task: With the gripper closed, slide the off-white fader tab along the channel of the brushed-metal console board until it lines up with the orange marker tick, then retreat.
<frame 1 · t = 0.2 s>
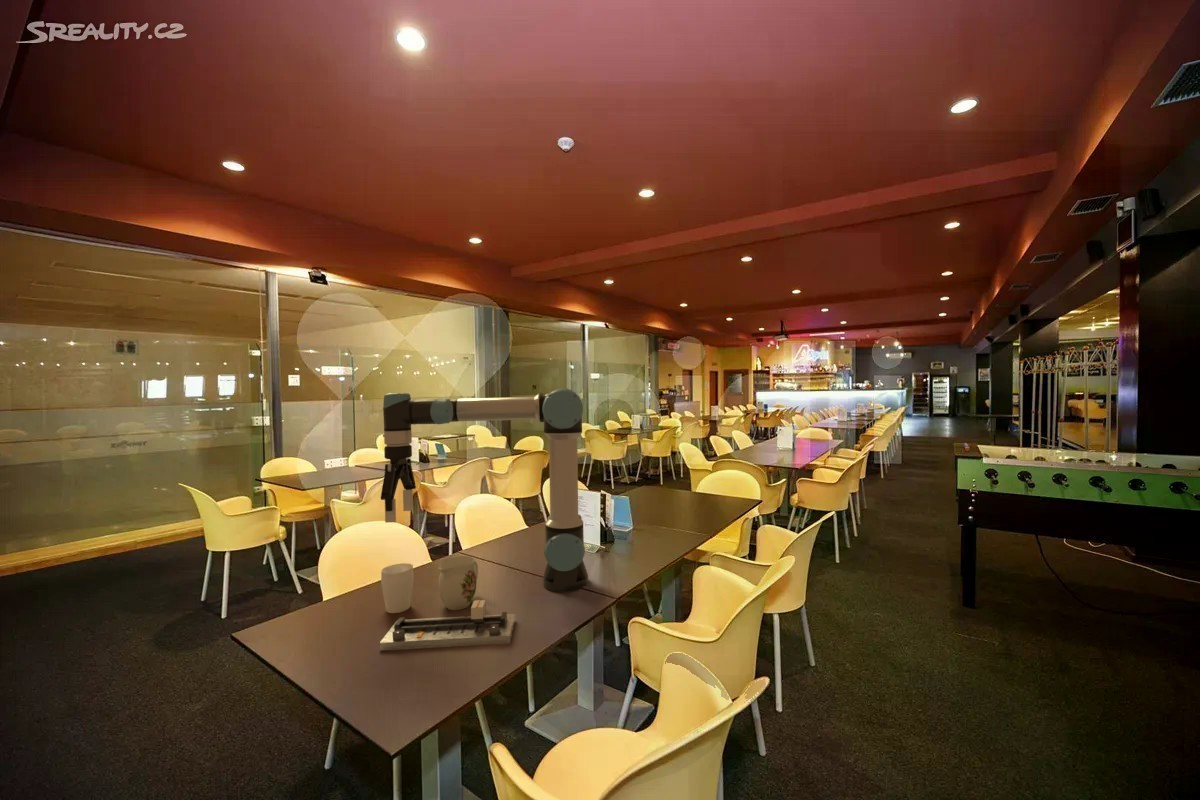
hand: (399, 516, 139), 28 cm above the table, fingers open, 13 cm apart
cup: (398, 609, 140), on the table
console: (451, 635, 123), on the table
pitcher: (460, 604, 142), on the table
fader: (478, 613, 125), point 5 cm above the table, slide at -7.0 cm
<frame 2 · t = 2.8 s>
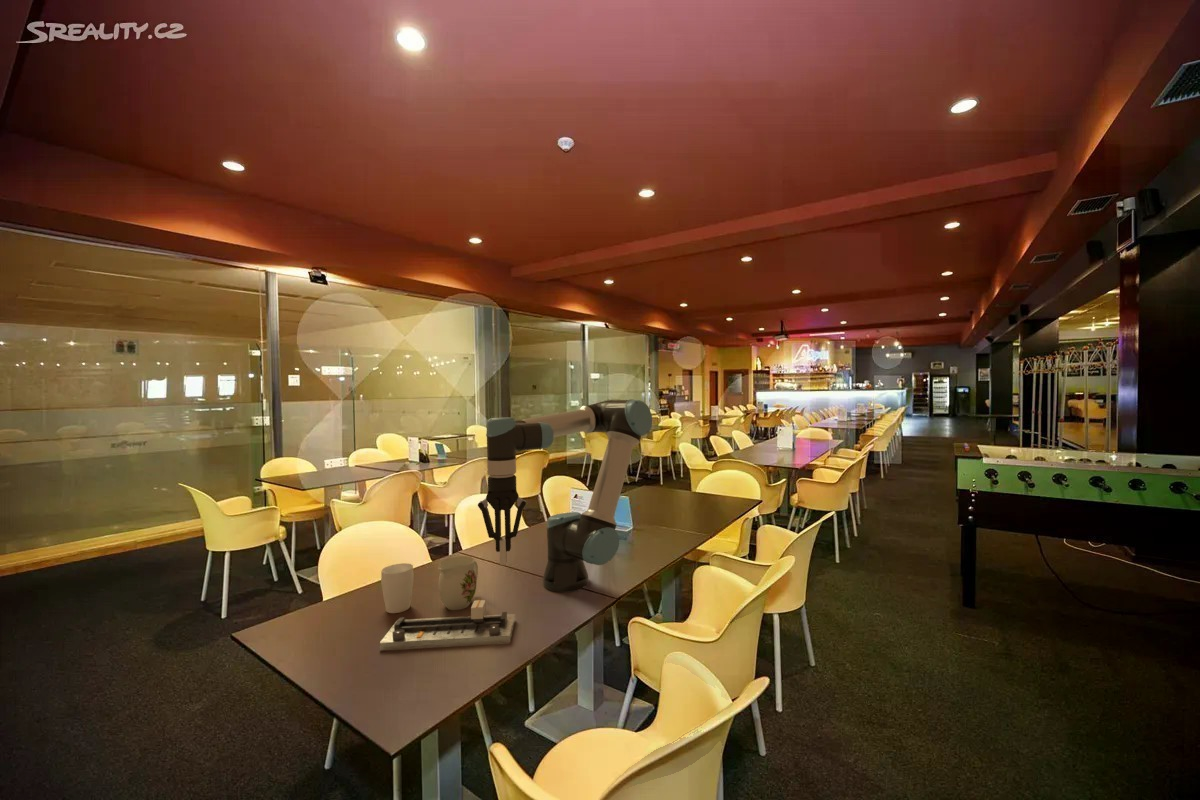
hand: (503, 563, 125), 18 cm above the table, fingers closed
nothing on the table moved.
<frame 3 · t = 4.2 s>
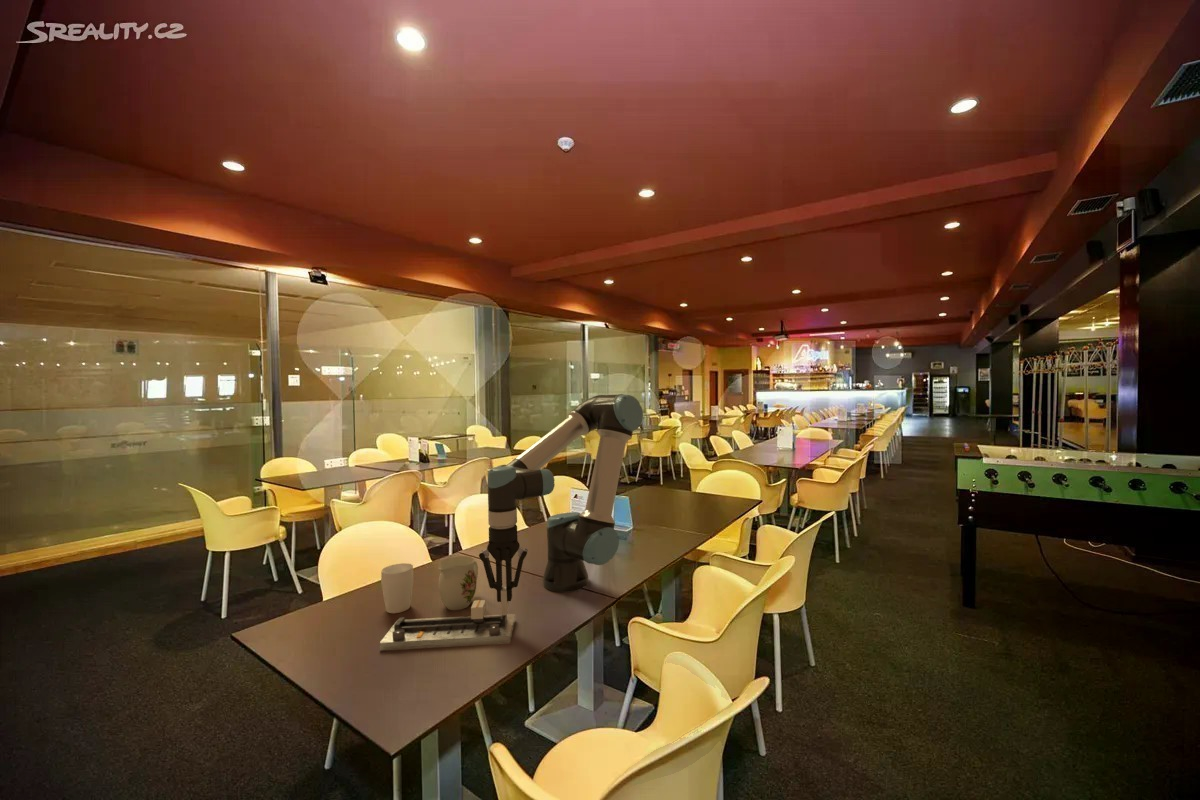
hand: (504, 612, 125), 5 cm above the table, fingers closed
nothing on the table moved.
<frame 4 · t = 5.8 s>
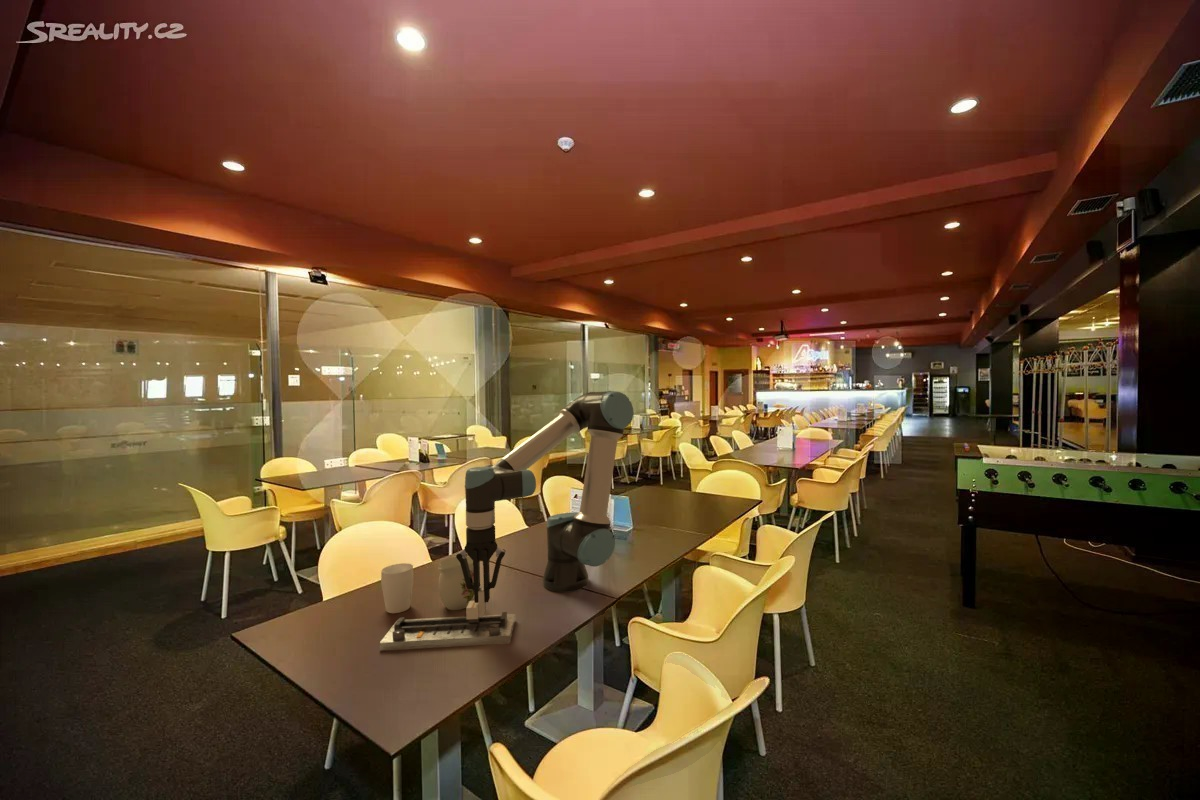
hand: (482, 613, 125), 5 cm above the table, fingers closed
fader: (474, 613, 125), point 5 cm above the table, slide at -5.8 cm, touching gripper
everything else where it was.
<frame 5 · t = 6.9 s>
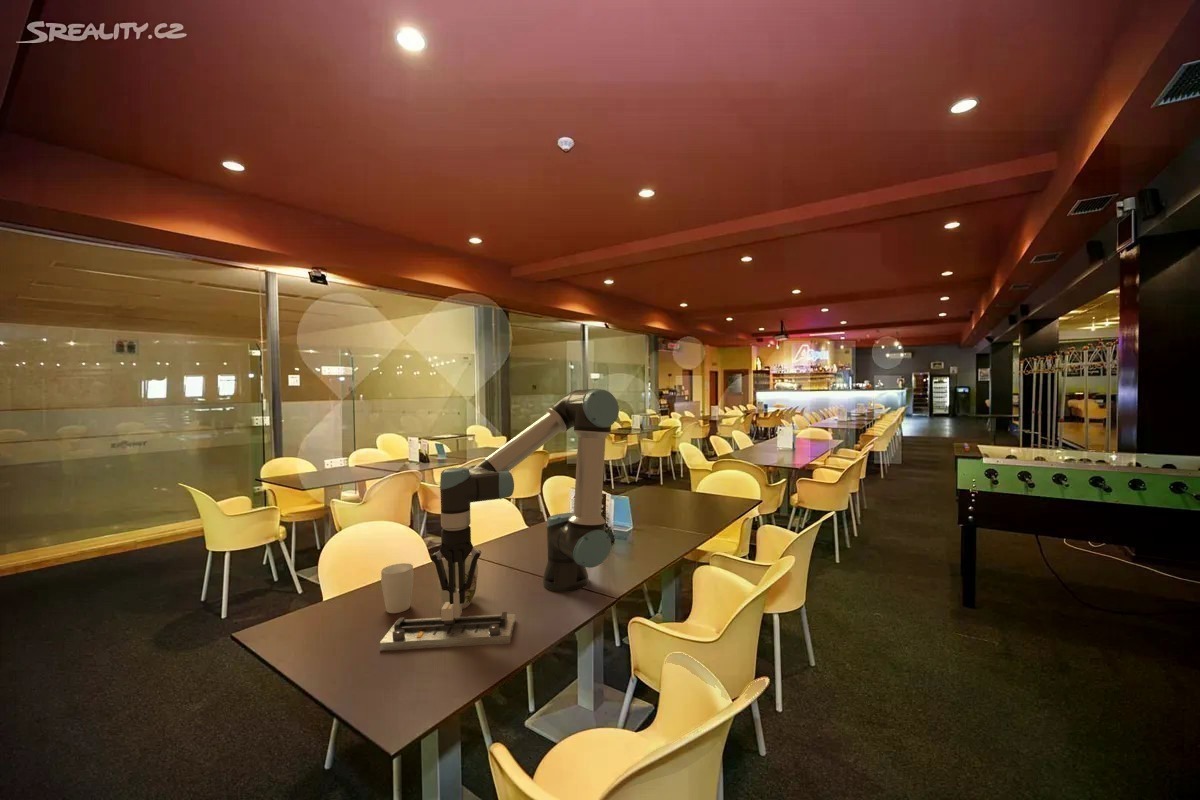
hand: (457, 615, 124), 5 cm above the table, fingers closed
fader: (449, 614, 124), point 5 cm above the table, slide at 0.7 cm, touching gripper
everything else where it was.
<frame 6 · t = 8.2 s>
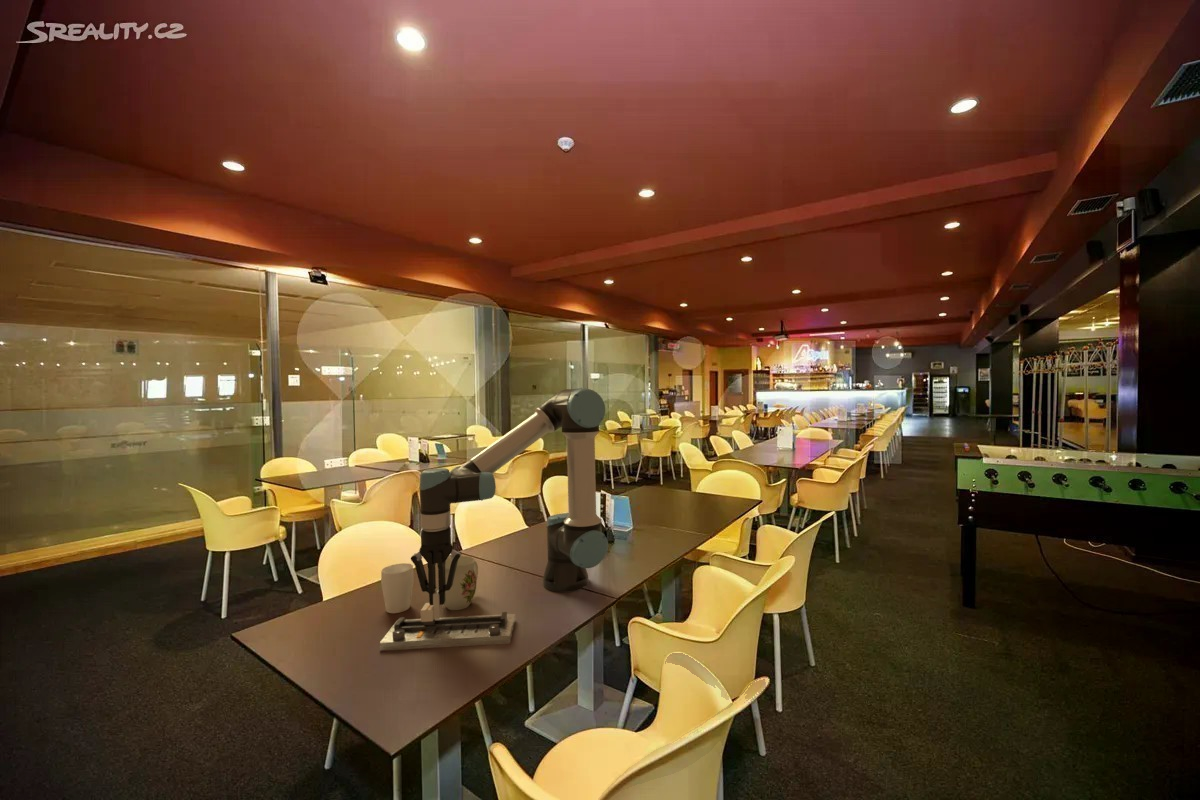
hand: (437, 616, 124), 5 cm above the table, fingers closed
fader: (429, 616, 124), point 5 cm above the table, slide at 5.9 cm, touching gripper
everything else where it was.
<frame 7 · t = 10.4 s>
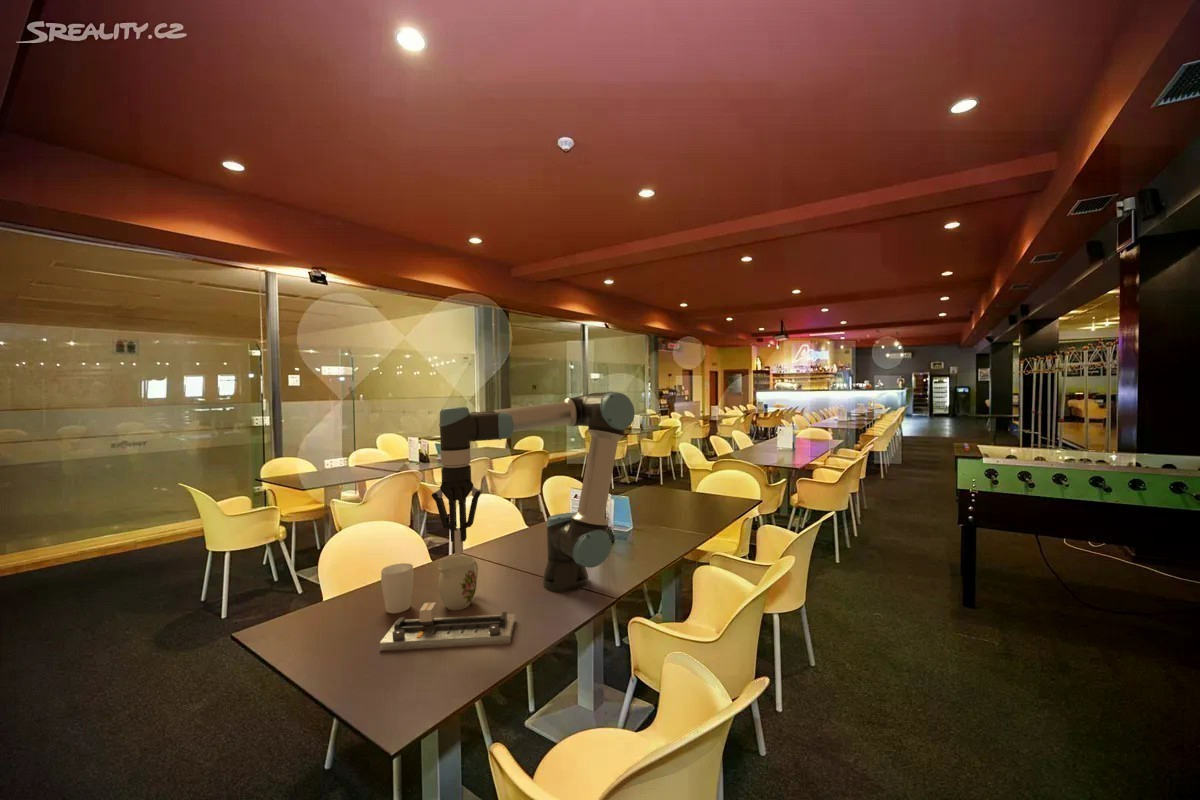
hand: (459, 553, 125), 21 cm above the table, fingers closed
fader: (428, 616, 124), point 5 cm above the table, slide at 6.2 cm
everything else where it was.
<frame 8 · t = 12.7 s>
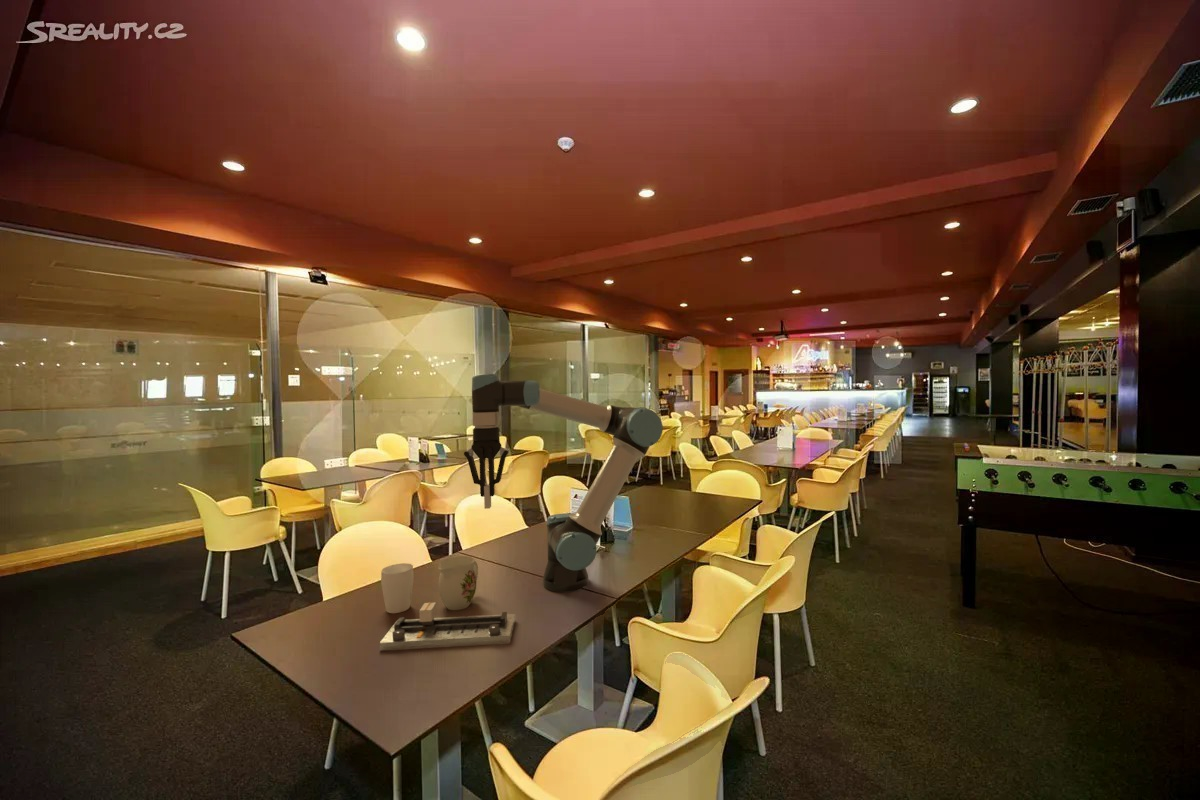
hand: (487, 507, 137), 30 cm above the table, fingers closed
nothing on the table moved.
at the end: fader slide at 6.2 cm; fader touching nothing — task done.
